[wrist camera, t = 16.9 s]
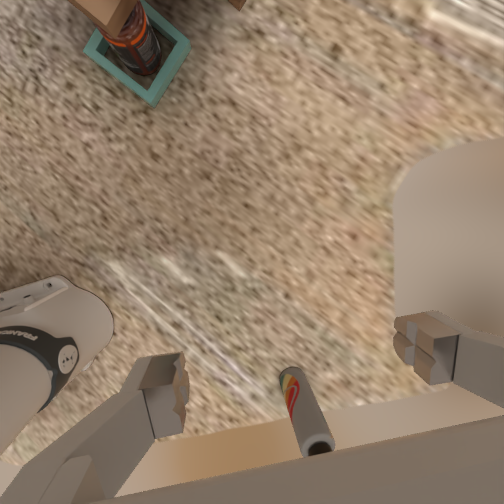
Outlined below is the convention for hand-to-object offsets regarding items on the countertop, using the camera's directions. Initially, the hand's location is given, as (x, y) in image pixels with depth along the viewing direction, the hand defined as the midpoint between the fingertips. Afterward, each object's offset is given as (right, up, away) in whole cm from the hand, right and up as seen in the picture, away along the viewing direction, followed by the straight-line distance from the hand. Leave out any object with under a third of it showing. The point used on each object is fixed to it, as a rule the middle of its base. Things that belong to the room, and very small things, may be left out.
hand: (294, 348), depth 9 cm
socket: (-18, +33, +26) cm, 46 cm away
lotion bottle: (+7, -24, +43) cm, 50 cm away
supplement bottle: (-18, +33, +27) cm, 46 cm away
